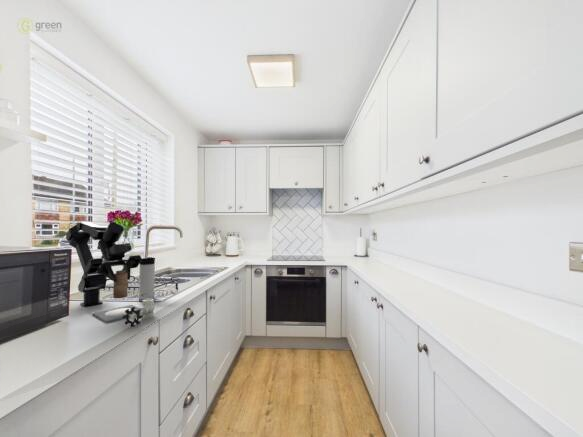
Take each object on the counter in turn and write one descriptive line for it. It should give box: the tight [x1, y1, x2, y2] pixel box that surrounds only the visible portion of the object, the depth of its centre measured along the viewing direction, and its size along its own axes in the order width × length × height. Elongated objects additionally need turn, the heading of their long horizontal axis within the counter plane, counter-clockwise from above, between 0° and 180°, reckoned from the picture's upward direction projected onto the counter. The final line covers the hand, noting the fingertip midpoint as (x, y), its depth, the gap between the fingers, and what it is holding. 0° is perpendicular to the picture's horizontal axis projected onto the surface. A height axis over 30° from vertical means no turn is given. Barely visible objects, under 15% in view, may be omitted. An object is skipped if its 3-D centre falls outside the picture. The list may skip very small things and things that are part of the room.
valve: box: [122, 298, 155, 328], centre depth 98 cm, size 7×7×12 cm
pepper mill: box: [112, 269, 129, 299], centre depth 105 cm, size 5×5×10 cm
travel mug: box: [138, 256, 156, 302], centre depth 126 cm, size 6×7×20 cm
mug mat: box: [91, 304, 141, 324], centre depth 105 cm, size 14×14×1 cm
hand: (122, 280), depth 104 cm, fingers closed on pepper mill, 5 cm apart
